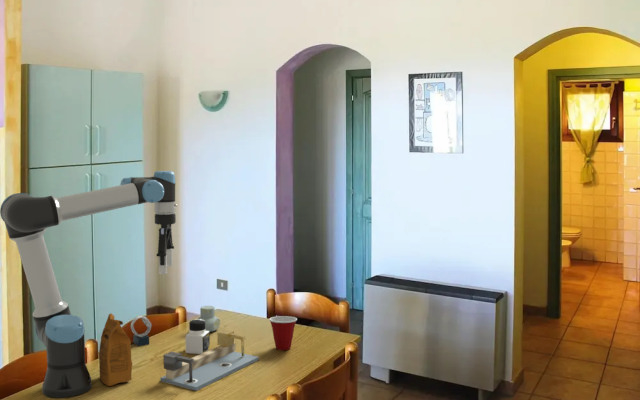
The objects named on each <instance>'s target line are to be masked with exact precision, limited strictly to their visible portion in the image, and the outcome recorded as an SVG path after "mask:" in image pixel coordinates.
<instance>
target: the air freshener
mask: <svg viewBox="0 0 640 400" xmlns="http://www.w3.org/2000/svg"><path fill="white" fill-rule="evenodd" d="M199 310H200V316H199V317H198V318H197V319H202V320H204V321H205V331H209V333H211V332H212V333H213V332H215V331H216V330H218V329H219V327H220V325H221V319H220V318H219V317H218V316H216V312H215V307H214V306H213V305H203V306H201V307H200V309H199Z"/></svg>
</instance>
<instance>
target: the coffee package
mask: <svg viewBox="0 0 640 400" xmlns="http://www.w3.org/2000/svg"><path fill="white" fill-rule="evenodd" d="M122 325H124V322H123V320H119V319H116V317H115V315H114V314H112V313H109V314H108V316H107V319H106V321H105V324H104V327H103V329H102V333H101V336H100V343H99V351H98V353H99V354H98V362H99V363H98V364H99V378H100V380H101V383H102V384H103V385H106V386H107V387H112V386H114V385H115V386H116V385H118V384H120V383H127V382H129V381H132V378H133V377H132V369H133V359H132V343H131V339H130V337H129V336H128V334H127V333H126V332H125V330H124V329H123V328H122Z"/></svg>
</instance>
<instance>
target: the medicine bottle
mask: <svg viewBox="0 0 640 400" xmlns="http://www.w3.org/2000/svg"><path fill="white" fill-rule="evenodd" d="M188 324H189V326H188V328H189V332H188V333H187V334H185V353H186V354H193V355H200V354H202V353H205V352H207V351H209V349H210V348H211V345H210V344H211V342H210V340H211V339H210V338H211V337H210V332H209V331H205V321H204V320H202V319H198V318H196V319H195V318H194V319H192V320H189V323H188Z"/></svg>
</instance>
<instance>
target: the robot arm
mask: <svg viewBox="0 0 640 400" xmlns="http://www.w3.org/2000/svg"><path fill="white" fill-rule="evenodd" d="M147 203H151V204H153V203H154V209H153V211H154V224H156V225H160V227H159V228H158V247H157V253H156V257H158V274H159V275H167V274H168V269H167V268H168V267H173V250H174V249H175V245H174V243H173V234H172V225H174V224H176V222H177V220H176V213H175V212H176V207H178V204H177V203H176V175H175V173H174V171H171V170H157V171H154V173H153V176H149V177H148V176H147V177H146V176H145V177H143V176H139V177H137V176H136V177H135V176H134V177H133V176H132V177H131V176H130V177H123V178H122V179H121V180H120V184H119V185H114V186H111V187H106V188H101V189H95V190H89V191H85V192H81V193H80V192H79V193H75V194H70V195H64V196H60V197H56V196H53V195H49V196H41V197H40V196H37V197H36V196H33V195H31V194H29V193H27V192H18V193H16V192H15V193H13V194H10V195H9V196H7V197H6V198H5V199H4V200H3V201H2V203H1V206H0V218H1V219H2V221H3V222H4V224H5V229H6V230H7V235H8V238H9V240H11V241H14V242H15V243H16V246H17V250H18V254H19V256H20V260H21V263H22V267H23V271H24V273H25V277H26V281H27V284H28V287H29V290H30V294H31V297H32V301H33V303H34V304H33V305H34V307H35V309H34V311H33V312H32V318H33V321H34V325H35V326H34V328H35V329H34V330H35V335H36V336H37V338H38V339H39V340H40V341H41V343H42V344H43V345H44V346H45V348H46V349H45V350H46V363H47V365H46V367H47V368H46V372H45V376H44V381H43V383H42V386H41V388H42V394H43V395H44V396H46V397H47V398H49V397H50V398H59V399H60V398H61V399H62V398H63V399H65V398H70V397H76V396H80V395H82V394H84V393H86V392H88V391H90V390H91V389H92V387H93V385H92V376H91V374H90V372H89V370H88V367H87V365H86V347H85V346H86V345H85V333H86V332H85V325H84V324H85V323H84V321H83V319H82V318H81V317H80V316H78V315H72V314H71V309H70V306H69V303H68V302H67V301H64V300H63V299H62V296H61V293H60V289H59V286H58V281H57V278H56V274H55V272H54V268H53V265H52V262H51V259H50V254H49V250H48V248H47V247H48V246H47V244H46V241H45V237H44V233H45V232H46V230H47V229H49V228H51V227H55V226H60V224H61V223H62V222H63V221H67V220H69V221H70V220H72V219H77V218H78V219H79V218H82V217H87V216H91V215H95V214H98V213H99V214H100V213H103V212H104V213H105V212H109V211H113V210H118V209H123V208H127V207H131V206H136V205H142V204H147Z"/></svg>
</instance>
